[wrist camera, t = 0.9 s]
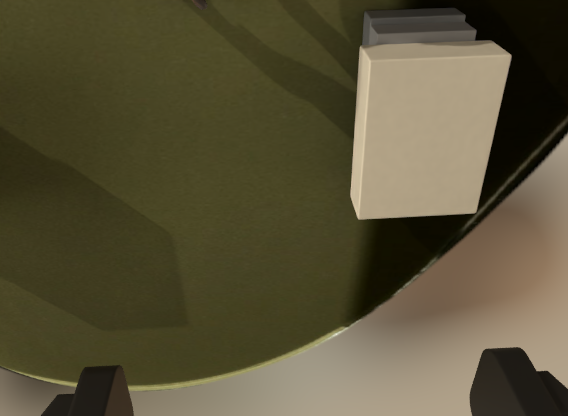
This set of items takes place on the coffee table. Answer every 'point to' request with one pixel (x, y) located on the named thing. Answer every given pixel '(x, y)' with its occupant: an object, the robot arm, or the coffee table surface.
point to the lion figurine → (200, 4)
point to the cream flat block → (425, 126)
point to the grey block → (416, 26)
